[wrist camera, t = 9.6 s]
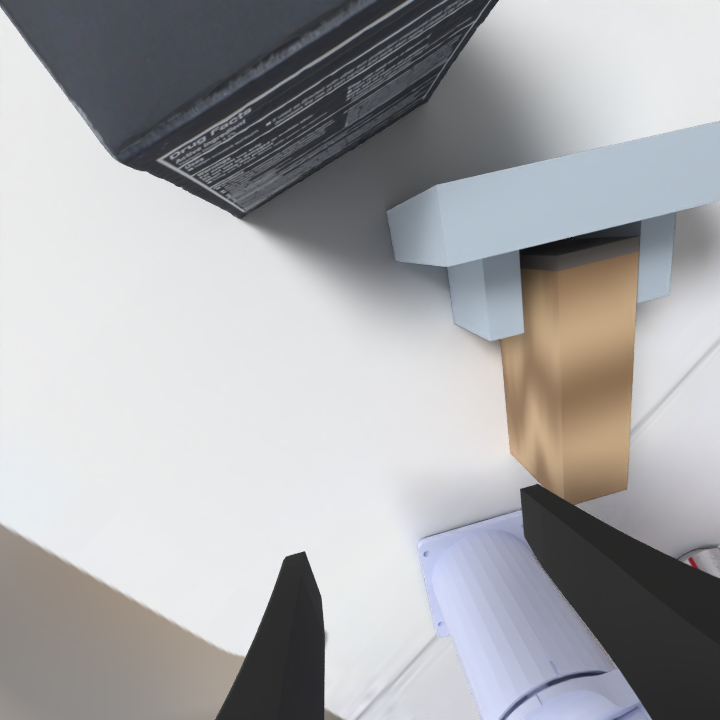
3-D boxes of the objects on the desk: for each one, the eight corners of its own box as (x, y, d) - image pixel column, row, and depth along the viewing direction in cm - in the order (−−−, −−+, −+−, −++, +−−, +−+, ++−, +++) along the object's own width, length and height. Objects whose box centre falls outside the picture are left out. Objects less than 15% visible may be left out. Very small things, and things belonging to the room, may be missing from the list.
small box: (361, -73, 13) (505, -969, 4) (432, 101, 16) (646, -160, 6) (138, 74, 14) (-287, -365, 4) (237, 224, 16) (120, 180, 6)
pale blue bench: (642, 276, 20) (810, 288, 13) (408, 335, 19) (461, 380, 12) (648, 151, 18) (853, 90, 11) (386, 211, 17) (436, 184, 10)
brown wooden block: (560, 439, 22) (627, 489, 18) (510, 453, 22) (564, 507, 17) (554, 239, 18) (639, 235, 14) (493, 254, 18) (557, 255, 13)
